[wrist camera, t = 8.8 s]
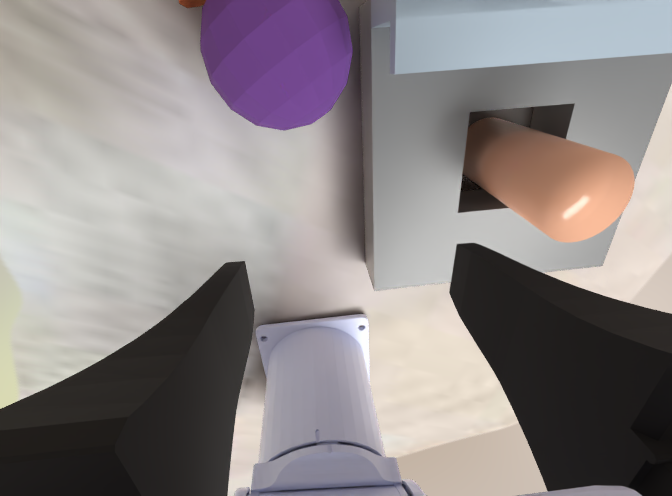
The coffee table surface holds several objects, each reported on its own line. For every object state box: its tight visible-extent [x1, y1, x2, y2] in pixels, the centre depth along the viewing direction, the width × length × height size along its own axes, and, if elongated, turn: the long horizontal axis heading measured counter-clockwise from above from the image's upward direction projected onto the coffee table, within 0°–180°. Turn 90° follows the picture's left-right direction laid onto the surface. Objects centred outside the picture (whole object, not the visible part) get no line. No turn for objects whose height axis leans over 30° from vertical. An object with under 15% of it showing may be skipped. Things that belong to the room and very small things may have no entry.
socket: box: [359, 0, 672, 291], centre depth 16 cm, size 14×14×7 cm
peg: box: [462, 117, 634, 243], centre depth 16 cm, size 4×4×8 cm
